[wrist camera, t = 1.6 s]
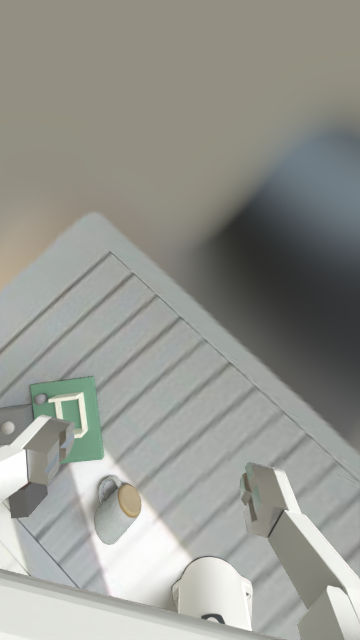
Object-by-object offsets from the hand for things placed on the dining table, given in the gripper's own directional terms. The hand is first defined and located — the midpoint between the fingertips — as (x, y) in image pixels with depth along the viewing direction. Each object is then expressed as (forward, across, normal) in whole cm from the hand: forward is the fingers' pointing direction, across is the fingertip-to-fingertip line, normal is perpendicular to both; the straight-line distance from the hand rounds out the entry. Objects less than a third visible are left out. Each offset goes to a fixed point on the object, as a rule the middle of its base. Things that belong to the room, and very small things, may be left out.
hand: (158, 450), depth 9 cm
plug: (+26, -28, -53) cm, 65 cm away
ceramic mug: (+26, -7, -50) cm, 57 cm away
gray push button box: (+31, -36, -40) cm, 62 cm away
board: (+31, -24, -36) cm, 53 cm away
